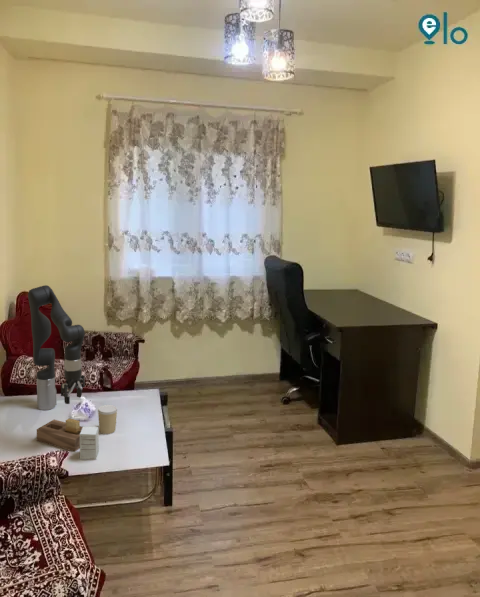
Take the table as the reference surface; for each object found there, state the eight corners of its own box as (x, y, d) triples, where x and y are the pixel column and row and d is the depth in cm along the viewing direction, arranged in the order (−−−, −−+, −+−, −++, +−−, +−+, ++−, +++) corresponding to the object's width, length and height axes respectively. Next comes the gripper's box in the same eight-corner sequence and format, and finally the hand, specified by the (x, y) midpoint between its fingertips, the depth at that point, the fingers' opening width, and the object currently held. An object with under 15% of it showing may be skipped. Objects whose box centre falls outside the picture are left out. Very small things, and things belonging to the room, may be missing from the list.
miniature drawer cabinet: (82, 451, 241) (82, 426, 239) (99, 451, 242) (99, 426, 239) (79, 459, 234) (79, 433, 231) (96, 459, 235) (96, 434, 232)
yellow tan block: (69, 437, 250) (69, 418, 248) (79, 440, 248) (79, 420, 246) (65, 439, 248) (65, 420, 246) (76, 442, 246) (76, 423, 244)
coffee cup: (120, 428, 265) (120, 406, 263) (110, 436, 257) (110, 413, 254) (104, 425, 268) (104, 403, 266) (94, 432, 260) (94, 410, 257)
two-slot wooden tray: (54, 430, 259) (53, 419, 258) (91, 440, 252) (91, 429, 251) (36, 440, 248) (36, 429, 247) (75, 451, 241) (74, 439, 240)
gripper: (76, 361, 248) (76, 393, 251) (55, 370, 235) (56, 404, 238) (89, 364, 245) (89, 396, 249) (69, 373, 232) (69, 407, 236)
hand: (73, 400), depth 244 cm, fingers open, 8 cm apart
